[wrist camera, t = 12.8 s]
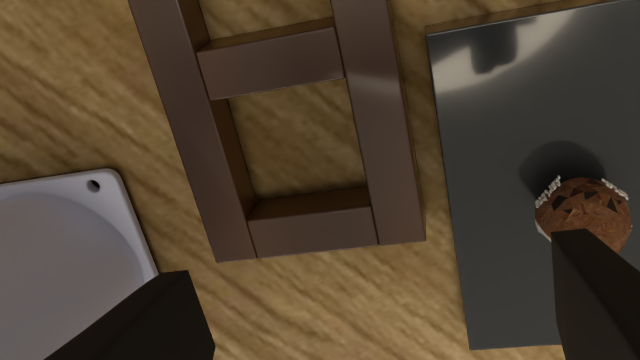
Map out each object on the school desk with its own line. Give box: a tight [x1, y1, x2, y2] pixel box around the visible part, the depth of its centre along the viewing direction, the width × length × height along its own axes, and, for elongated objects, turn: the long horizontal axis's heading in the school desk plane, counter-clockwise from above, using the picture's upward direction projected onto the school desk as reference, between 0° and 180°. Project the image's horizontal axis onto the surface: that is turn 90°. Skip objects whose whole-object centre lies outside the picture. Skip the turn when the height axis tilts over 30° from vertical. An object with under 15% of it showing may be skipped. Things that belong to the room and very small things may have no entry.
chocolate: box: [535, 175, 632, 254], centre depth 17 cm, size 3×2×4 cm
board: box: [425, 0, 640, 350], centre depth 20 cm, size 8×12×1 cm, turn 12°
